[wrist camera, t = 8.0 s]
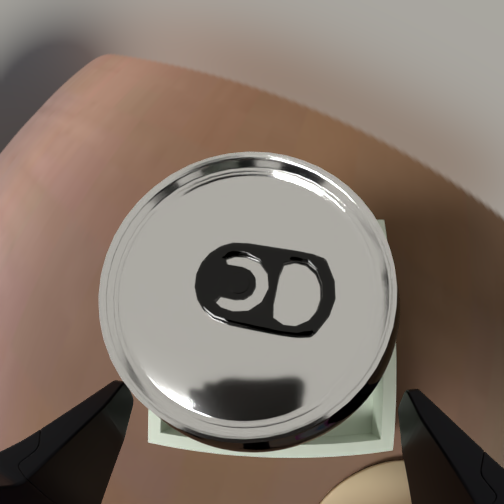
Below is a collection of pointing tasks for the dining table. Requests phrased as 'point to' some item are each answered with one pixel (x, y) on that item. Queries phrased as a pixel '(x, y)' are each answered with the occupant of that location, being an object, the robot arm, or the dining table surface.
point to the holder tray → (328, 445)
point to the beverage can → (250, 301)
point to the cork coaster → (373, 486)
